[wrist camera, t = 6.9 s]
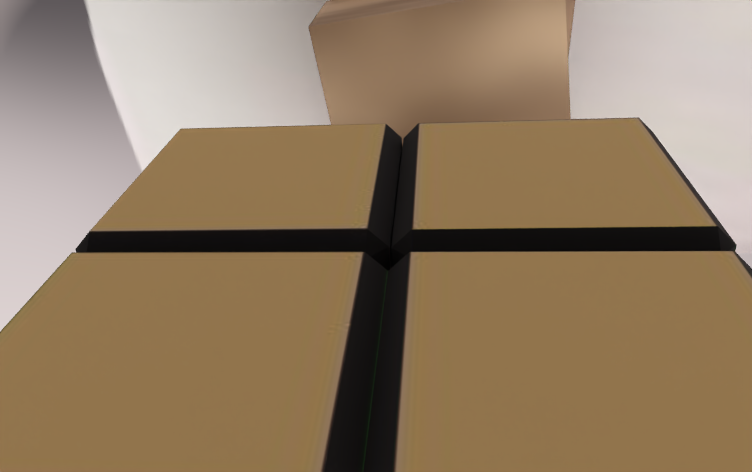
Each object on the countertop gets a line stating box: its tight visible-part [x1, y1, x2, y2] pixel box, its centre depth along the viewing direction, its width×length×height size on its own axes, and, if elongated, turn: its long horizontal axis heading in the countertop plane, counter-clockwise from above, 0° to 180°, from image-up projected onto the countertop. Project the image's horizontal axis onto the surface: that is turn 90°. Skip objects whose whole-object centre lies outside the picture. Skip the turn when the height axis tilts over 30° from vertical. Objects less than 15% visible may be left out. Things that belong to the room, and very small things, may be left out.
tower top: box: [309, 0, 570, 146], centre depth 34 cm, size 11×11×5 cm
